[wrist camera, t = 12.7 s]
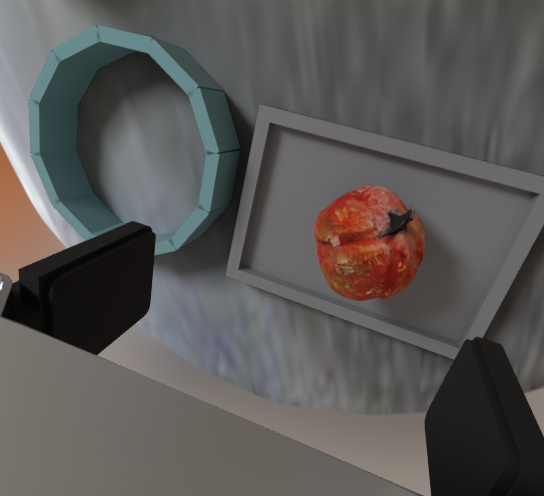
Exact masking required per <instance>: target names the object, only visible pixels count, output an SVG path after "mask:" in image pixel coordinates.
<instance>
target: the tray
mask: <svg viewBox="0 0 544 496" xmlns="http://www.w3.org/2000/svg"><path fill="white" fill-rule="evenodd" d="M365 185H367V186H379V187H384V188H387V189H389V190H391V191H394V192H396V194H397V195H398V197H399V198H400V200H401V201H402V202H403V204H404V206H405V207H406V209H407V210H410V208H411V205H412V203H413V206H414V210H415V213H416V215H417V216H418V218H419V220H420V221H421V224H422V227H423V229H424V231H425V251H424V256H423V260H422V263H421V264H420V265H419V266H418V269H417V272H416V274H415V277H414V278H413V280H412V281H411V282H410V284H409V285H408V286H407V287H406V288H404V289H403V290H402V291H400V292H399V293H398V294H396V295H395V296H393V297H391V298H389V299H381V298H375V299H372V300H365V301H355V300H352V299H349V298H344V297H343V296H341V295H339V294H337V293H336V292H335V291H333V290H332V289H331V287H330V286H329V284H328V283H327V281H326V280H325V277H324V274H323V272H322V270H321V267H320V264H319V259H318V258H317V246H316V241H315V237H314V226H315V223H316V219H317V216H318V215H319V213H320V212H321V211H322V210H323V209H324V208H326V207H327V206H328V205H329V204H330V203H332V202H333V201H334V200H335V199H337V198H338V197H340V196H343V195H344V194H346V193H348V192H350V191H353V190H355V189H358V188H360V187H363V186H365ZM543 225H544V176H543V175H539V174H535V173H531V172H527V171H523V170H519V169H515V168H511V167H507V166H503V165H499V164H496V163H492V162H488V161H484V160H480V159H476V158H472V157H468V156H464V155H460V154H456V153H452V152H449V151H445V150H441V149H437V148H433V147H429V146H425V145H421V144H417V143H413V142H409V141H405V140H401V139H398V138H394V137H390V136H386V135H382V134H378V133H374V132H370V131H366V130H362V129H358V128H354V127H351V126H347V125H343V124H339V123H335V122H331V121H327V120H323V119H319V118H315V117H311V116H307V115H303V114H300V113H296V112H292V111H288V110H284V109H280V108H276V107H272V106H268V105H261V104H260V105H259V110H258V115H257V120H256V125H255V130H254V135H253V140H252V145H251V150H250V155H249V160H248V165H247V170H246V175H245V180H244V185H243V190H242V195H241V200H240V205H239V210H238V215H237V220H236V225H235V230H234V235H233V240H232V245H231V250H230V255H229V260H228V265H227V270H226V275H225V276H227V277H230V278H232V279H235V280H238V281H240V282H243V283H246V284H249V285H251V286H254V287H257V288H260V289H262V290H265V291H268V292H271V293H273V294H276V295H279V296H282V297H284V298H287V299H290V300H292V301H295V302H298V303H301V304H303V305H306V306H309V307H312V308H314V309H317V310H320V311H323V312H325V313H328V314H331V315H334V316H336V317H339V318H342V319H344V320H347V321H350V322H353V323H355V324H358V325H361V326H364V327H366V328H369V329H372V330H375V331H377V332H380V333H383V334H386V335H388V336H391V337H394V338H396V339H399V340H402V341H405V342H407V343H410V344H413V345H416V346H418V347H421V348H424V349H427V350H429V351H432V352H435V353H438V354H440V355H443V356H446V357H448V358H451V359H454V360H455V358H456V356H457V354H458V352H459V350H460V348H461V346H462V344H463V343H464V341H465V340H466V339H469V340H473V339H474V338H475V337H480V338H483V336H484V334H485V332H486V330H487V328H488V327H489V325H490V323H491V321H492V319H493V317H494V316H495V314H496V312H497V310H498V308H499V306H500V305H501V303H502V301H503V299H504V297H505V295H506V293H507V292H508V290H509V288H510V286H511V284H512V282H513V281H514V279H515V277H516V275H517V273H518V271H519V269H520V268H521V266H522V264H523V262H524V260H525V258H526V257H527V255H528V253H529V251H530V249H531V247H532V246H533V244H534V242H535V240H536V238H537V236H538V234H539V233H540V231H541V229H542V227H543Z"/></svg>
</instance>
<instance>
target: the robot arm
mask: <svg viewBox="0 0 544 496" xmlns="http://www.w3.org/2000/svg"><path fill="white" fill-rule="evenodd" d="M155 243H156V235H155V233H153V232H152V228H151V227H149V226H146V225H143V224H140V223H137V222H134V221H132V222H129V223H126V224H124V225H122V226H119V227H117V228H115V229H112V230H110V231H108V232H105V233H103V234H101V235H98V236H96V237H93V238H91V239H89V240H86V241H84V242H82V243H79V244H77V245H75V246H72V247H70V248H68V249H65V250H63V251H61V252H58V253H56V254H53V255H51V256H49V257H47V258H44V259H42V260H40V261H37V262H35V263H32V264H30V265H28V266H25V267H23V268H21V269H19V281H17V282H15V283H12V280H11V278H10V277H9V276H7V275H5V274H3V273H0V496H423V495H420V494H418V493H416V492H414V491H411V490H409V489H407V488H404V487H402V486H400V485H397V484H395V483H393V482H391V481H388V480H386V479H383V478H381V477H379V476H377V475H374V474H372V473H370V472H367V471H365V470H363V469H361V468H358V467H356V466H354V465H351V464H349V463H347V462H345V461H342V460H340V459H337V458H335V457H333V456H331V455H328V454H326V453H324V452H321V451H319V450H317V449H315V448H312V447H310V446H308V445H305V444H303V443H301V442H298V441H296V440H294V439H291V438H289V437H286V436H284V435H282V434H280V433H277V432H275V431H272V430H270V429H268V428H265V427H263V426H261V425H258V424H256V423H253V422H251V421H249V420H247V419H244V418H242V417H240V416H237V415H235V414H233V413H230V412H228V411H226V410H223V409H221V408H219V407H216V406H214V405H212V404H209V403H207V402H204V401H202V400H200V399H198V398H195V397H193V396H191V395H188V394H186V393H184V392H181V391H179V390H177V389H174V388H172V387H170V386H167V385H165V384H163V383H160V382H158V381H156V380H153V379H151V378H149V377H146V376H144V375H142V374H139V373H137V372H134V371H132V370H130V369H128V368H125V367H123V366H120V365H118V364H116V363H114V362H111V361H109V360H106V359H104V358H102V357H99V356H97V355H98V354H99V353H100V352H101V351H103V350H104V349H105V348H106V347H107V346H109V345H110V344H111V343H112V342H114V340H116V339H117V338H118V337H120V336H121V335H122V334H123V333H124V332H126V331H127V330H128V329H129V328H130V327H132V326H133V325H134V324H135V323H137V322H138V321H139V320H140V319H141V318H143V317H144V316H145V315H146V313H147V312H148V310H149V307H150V301H151V289H152V278H153V266H154V255H155ZM425 434H426V445H427V455H428V466H429V476H430V487H431V496H544V437H543V434H542V432H541V430H540V428H539V426H538V424H537V421H536V419H535V417H534V415H533V412H532V410H531V408H530V406H529V404H528V402H527V399H526V397H525V395H524V393H523V390H522V388H521V386H520V384H519V382H518V380H517V377H516V375H515V373H514V371H513V369H512V366H511V364H510V362H509V360H508V358H507V355H506V353H505V351H504V349H503V347H502V345H501V344H498V343H495V342H492V341H489V340H486V339H483V338H480V337H475V338H474V339H473V340H469V339H466V340H465V341H464V343H463V344H462V346H461V348H460V350H459V352H458V354H457V356H456V358H455V360H454V361H453V363H452V365H451V367H450V369H449V371H448V373H447V375H446V377H445V379H444V381H443V383H442V384H441V386H440V388H439V390H438V392H437V394H436V396H435V398H434V400H433V402H432V404H431V405H430V407H429V409H428V411H427V414H426V418H425Z"/></svg>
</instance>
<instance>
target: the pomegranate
mask: <svg viewBox="0 0 544 496" xmlns="http://www.w3.org/2000/svg"><path fill="white" fill-rule="evenodd" d="M314 237H315V241H316V246H317V258H318V259H319V264H320V267H321V270H322V272H323V274H324V277H325V280H326V281H327V283H328V284H329V286H330V287H331V289H332V290H333V291H335V292H336V293H337V294H339V295H341V296H343V297H344V298H349V299H352V300H355V301H365V300H372V299H375V298H381V299H389V298H391V297H393V296H395V295H396V294H398V293H399V292H400V291H402V290H403V289H404V288H406V287H407V286H408V285H409V284H410V282H411V281H412V280H413V278H414V277H415V274H416V272H417V269H418V266H419V265H420V264H421V263H422V260H423V256H424V251H425V231H424V229H423V227H422V224H421V221H420V220H419V218H418V216H417V215H416V213H415V210H414V206H413V203H412V205H411V208H410V210H407V209H406V207H405V206H404V204H403V202H402V201H401V200H400V198H399V197H398V195H397V194H396V192H394V191H391V190H389V189H387V188H384V187H379V186H367V185H365V186H363V187H360V188H358V189H355V190H353V191H350V192H348V193H346V194H344V195H343V196H340V197H338V198H337V199H335V200H334V201H333V202H332V203H330V204H329V205H328V206H327V207H326V208H324V209H323V210H322V211H321V212H320V213H319V215H318V216H317V219H316V223H315V226H314Z"/></svg>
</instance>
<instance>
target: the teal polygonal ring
mask: <svg viewBox="0 0 544 496" xmlns="http://www.w3.org/2000/svg"><path fill="white" fill-rule="evenodd" d="M52 49H53V50H51V51H50V53H49V56H48V58H47V60H46V62H45V64H44V66H43V68H42V70H41V73H40V75H39V77H38V79H37V81H36V83H35V85H34V88H33V90H32V92H31V94H30V96H29V97H30V98H31V99H29V123H30V153H31V154H32V155H31V157H32V159H33V162H34V164H35V166H36V169H37V171H38V173H39V176H40V178H41V181H42V183H43V185H44V188H45V190H46V192H47V195H48V197H49V199H50V202H51V204H52V205H53V207H54V208H55V209H56V210H57V211H58V212H59V213H60V214H61V215H62V216H63V217H64V218H65V220H66V221H67V222H68V223H69V224H70V225H71V226H72V227H73V228H74V229H75V230H76V231H77V232H78V233H79V234H80V235H81V236H82V237H83V238H84V239H85V240H89V239H91V238H93V237H96V236H98V235H101V234H103V233H105V232H108V231H110V230H112V229H115V228H117V227H119V226H122V225H124V224H125V223H122V222H121V221H120V220H119V219H118V218H117V216H116V215H115V214H114V213H113V212H112V211H111V210H110V209H109V208H108V207H107V206H106V205H105V204H104V203H103V202H102V201H101V200H100V199H99V198H98V197H97V196H96V195H95V194H94V193H93V191H92V188H91V186H90V183H89V180H88V178H87V175H86V173H85V170H84V168H83V165H82V163H81V160H80V158H79V155H78V153H77V119H78V105H79V103H80V101H81V99H82V97H83V96H84V94H85V92H86V90H87V88H88V86H89V85H90V83H91V81H92V79H93V77H94V75H95V74H96V72H97V70H98V69H99V68H101V67H103V66H105V65H107V64H109V63H111V62H113V61H115V60H118V59H120V58H122V57H124V56H126V55H128V54H130V53H132V52H134V51H137V52H141V53H145V54H149V55H150V56H151V57H152V58H153V59H154V60H155V61H156V62H157V63H158V64H159V65H160V66H161V67H162V68H163V69H164V70H165V72H166V73H167V74H168V75H169V76H170V77H171V78H172V79H173V80H174V81H175V82H176V83H177V84H178V85H179V86H180V87H181V88H182V89H183V90H184V91H185V92H186V93H187V95H188V96H189V99H190V102H191V105H192V109H193V112H194V115H195V118H196V121H197V125H198V128H199V131H200V134H201V137H202V140H203V144H204V147H205V150H206V160H205V166H204V173H203V179H202V186H201V192H200V198H199V205H198V207H197V208H196V209H195V211H194V212H193V213H192V214H191V215H190V216H189V218H188V219H187V220H186V221H185V222H184V224H183V225H182V226H181V227H180V228H179V229H178V231H175V232H171V233H166V234H162V235H156V234H155V235H156V243H155V255H159V254H163V253H168V252H173V251H176V250H178V249H180V248H182V247H183V246H185V245H187V244H188V243H190V242H192V241H194V240H195V239H197V238H199V237H200V236H201V235H202V234H203V233H204V232H205V231H206V230H207V229H208V228H209V227H210V225H211V224H212V223H213V222H214V221H215V220H216V219H217V218H218V217H219V216H220V214H221V213H222V212H223V211H224V210H225V209H226V208H227V207H228V206H229V204H230V202H231V200H232V194H233V189H234V184H235V179H236V173H237V168H238V163H239V157H240V152H241V150H238V149H241V148H240V144H239V141H238V137H237V134H236V131H235V127H234V124H233V120H232V117H231V113H230V110H229V107H228V103H227V100H226V96H225V93H224V92H222V91H223V90H222V88H221V87H220V86H219V85H218V84H217V83H216V82H215V81H214V80H213V79H212V78H211V77H210V76H209V75H208V74H207V73H206V72H205V71H204V70H203V69H202V68H201V66H200V65H199V64H198V63H197V62H196V61H195V60H194V59H193V58H192V57H191V56H190V55H189V54H188V53H187V52H186V51H185V50H184V49H182V48H180V47H178V46H175V45H172V44H169V43H166V42H163V41H160V40H158V39H155V38H152V37H148V36H143V35H139V34H135V33H130V32H126V31H122V30H117V29H113V28H109V27H104V26H100V25H98V26H97V25H95V26H93V27H92V28H90V29H88V30H86V31H84V32H82V33H80V34H79V35H77V36H75V37H73V38H71V39H69V40H67V41H66V42H64V43H62V44H60V45H58V46H56V47H54V48H52Z"/></svg>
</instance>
